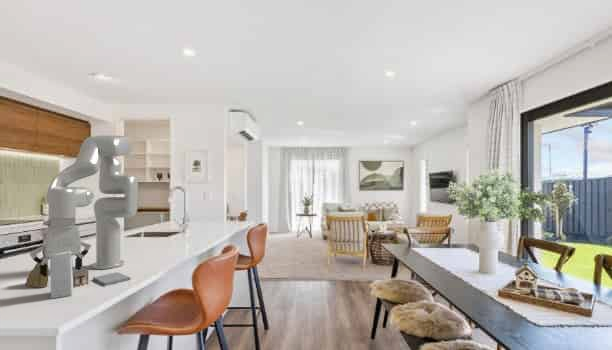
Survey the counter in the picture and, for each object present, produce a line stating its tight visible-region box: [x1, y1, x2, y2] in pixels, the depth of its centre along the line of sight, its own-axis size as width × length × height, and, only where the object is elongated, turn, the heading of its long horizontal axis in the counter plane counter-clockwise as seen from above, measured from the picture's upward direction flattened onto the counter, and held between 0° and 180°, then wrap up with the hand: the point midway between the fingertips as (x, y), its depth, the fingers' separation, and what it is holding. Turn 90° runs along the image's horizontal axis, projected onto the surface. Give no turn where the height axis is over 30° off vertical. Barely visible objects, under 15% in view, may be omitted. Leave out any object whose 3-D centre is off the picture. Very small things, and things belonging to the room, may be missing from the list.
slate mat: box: [92, 271, 131, 287], centre depth 127 cm, size 12×9×1 cm
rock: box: [24, 257, 49, 288], centre depth 120 cm, size 11×9×10 cm
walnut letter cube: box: [73, 268, 89, 288], centre depth 121 cm, size 5×5×5 cm
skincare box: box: [49, 252, 74, 299], centre depth 111 cm, size 8×6×15 cm
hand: (61, 272), depth 111 cm, fingers open, 9 cm apart
